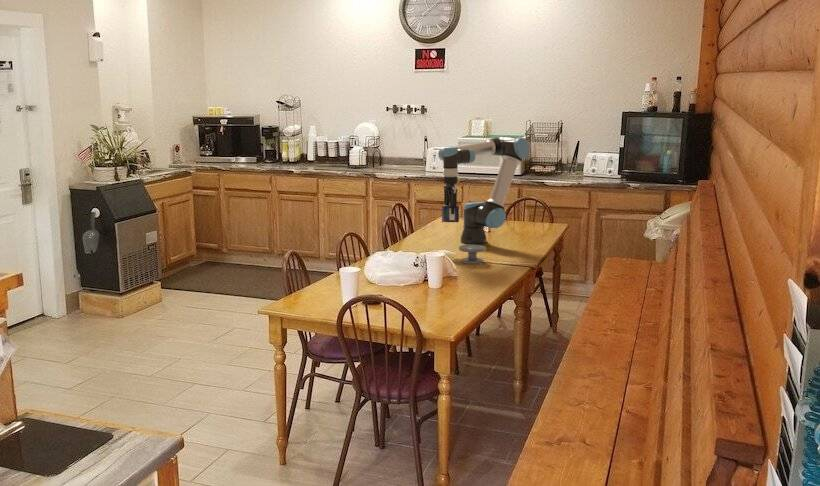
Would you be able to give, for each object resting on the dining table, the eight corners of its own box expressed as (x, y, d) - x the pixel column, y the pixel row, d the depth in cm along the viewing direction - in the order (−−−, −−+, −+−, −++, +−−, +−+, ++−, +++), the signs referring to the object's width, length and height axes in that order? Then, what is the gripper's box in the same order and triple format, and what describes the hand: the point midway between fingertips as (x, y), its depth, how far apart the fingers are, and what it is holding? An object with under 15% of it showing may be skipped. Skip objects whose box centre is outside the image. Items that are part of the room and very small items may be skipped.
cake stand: (479, 257, 390) (479, 243, 388) (490, 263, 377) (490, 249, 376) (454, 259, 386) (454, 245, 384) (464, 265, 373) (465, 251, 371)
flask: (441, 222, 396) (441, 202, 394) (442, 221, 399) (442, 201, 397) (458, 222, 395) (458, 202, 393) (459, 221, 398) (459, 202, 395)
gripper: (438, 174, 399) (437, 216, 404) (449, 178, 382) (449, 222, 387) (450, 173, 401) (450, 215, 406) (463, 177, 385) (462, 221, 390)
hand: (450, 218), depth 397 cm, fingers closed on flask, 5 cm apart
